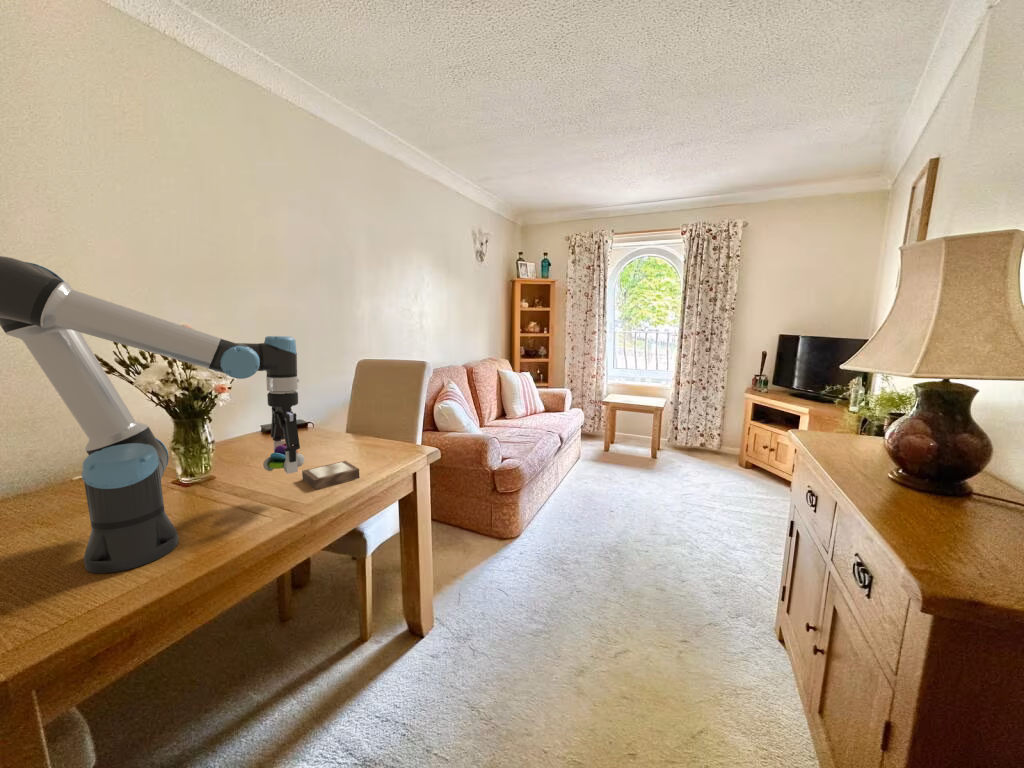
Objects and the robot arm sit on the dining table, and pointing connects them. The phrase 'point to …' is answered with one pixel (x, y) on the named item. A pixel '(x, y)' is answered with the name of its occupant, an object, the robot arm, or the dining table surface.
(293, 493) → the dining table surface
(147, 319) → the robot arm
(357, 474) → the plinth
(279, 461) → the rainbow pebble stack
